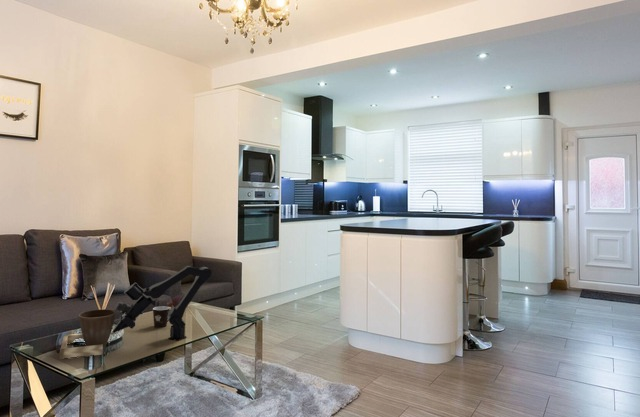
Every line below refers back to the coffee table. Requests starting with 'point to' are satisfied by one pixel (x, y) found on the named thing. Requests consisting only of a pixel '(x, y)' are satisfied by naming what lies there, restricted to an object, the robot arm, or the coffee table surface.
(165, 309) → the coffee mug
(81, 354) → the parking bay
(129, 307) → the robot arm
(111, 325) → the plant pot
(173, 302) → the red grape bunch
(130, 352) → the coffee table surface
